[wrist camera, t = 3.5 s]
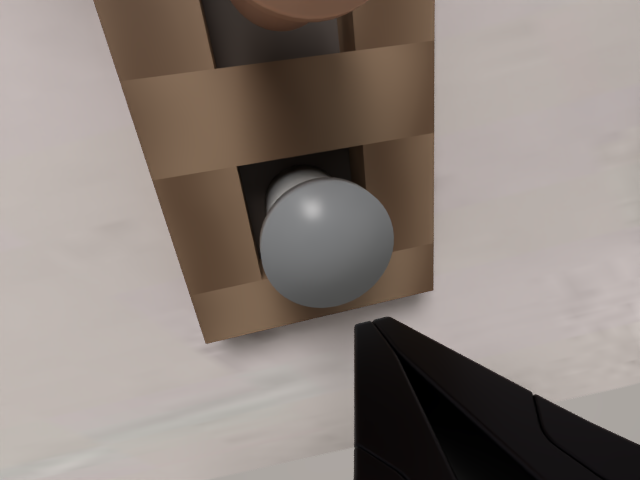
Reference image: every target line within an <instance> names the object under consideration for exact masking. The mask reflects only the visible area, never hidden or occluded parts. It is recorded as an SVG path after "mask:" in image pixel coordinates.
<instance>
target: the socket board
mask: <svg viewBox="0 0 640 480" xmlns="http://www.w3.org/2000/svg"><path fill="white" fill-rule="evenodd" d="M93 1H94V4H95V7H96V10H97V13H98V16H99V19H100V22H101V25H102V28H103V31H104V34H105V37H106V40H107V43H108V46H109V50H110V53H111V56H112V59H113V62H114V65H115V68H116V71H117V74H118V77H119V80H120V83H121V86H122V89H123V92H124V95H125V98H126V101H127V104H128V108H129V111H130V114H131V117H132V120H133V123H134V126H135V129H136V132H137V135H138V138H139V141H140V144H141V147H142V150H143V153H144V156H145V159H146V162H147V166H148V169H149V172H150V175H151V178H152V181H153V184H154V187H155V190H156V193H157V196H158V199H159V202H160V205H161V208H162V211H163V214H164V217H165V220H166V224H167V227H168V230H169V233H170V236H171V239H172V242H173V245H174V248H175V251H176V254H177V257H178V260H179V263H180V266H181V269H182V272H183V275H184V278H185V282H186V285H187V288H188V291H189V294H190V297H191V300H192V303H193V306H194V309H195V312H196V315H197V318H198V321H199V324H200V327H201V330H202V333H203V336H204V340H205V343H206V344H208V343H212V342H216V341H220V340H225V339H229V338H233V337H237V336H242V335H246V334H250V333H254V332H259V331H263V330H267V329H271V328H275V327H280V326H284V325H288V324H292V323H297V322H301V321H305V320H309V319H314V318H318V317H322V316H326V315H330V314H335V313H339V312H343V311H347V310H352V309H356V308H360V307H364V306H369V305H373V304H377V303H381V302H385V301H390V300H394V299H398V298H402V297H407V296H411V295H415V294H419V293H424V292H428V291H432V290H433V246H434V11H435V0H368V1H367V2H365V3H364V4H363V5H361V6H360V7H358V8H357V9H355V10H353V11H351V12H349V13H347V14H346V15H343V16H340V17H337V18H335V19H332V20H327V21H322V22H309V23H308V24H306V25H304V26H302V27H300V28H297V29H295V30H290V31H272V30H268V29H264V28H262V27H259V26H257V25H256V24H254V23H252V22H250V21H249V20H248V19H247V18H245V17H244V16H243V15H242V14H241V13H240V12H239V11H238V10H237V9H236V8H235V6H234V5H233V4H232V3H231V1H230V0H93ZM296 165H311V166H315V167H318V168H320V169H322V170H323V171H325V172H326V173H327V174H328V175H330V176H331V177H335V178H342V179H345V180H349V181H351V182H354V183H356V184H358V185H359V186H361V187H363V188H364V189H365V190H367V191H368V192H369V193H371V194H372V195H373V196H374V197H375V198H377V199H378V200H379V201H380V203H381V204H382V205H383V206H384V208H385V209H386V211H387V213H388V215H389V217H390V220H391V223H392V227H393V233H394V245H393V252H392V255H391V259H390V261H389V264H388V266H387V268H386V270H385V271H384V273H383V275H382V276H381V277H380V279H379V280H378V281H377V282H376V283H375V285H374V286H373V287H372V288H370V289H369V290H368V291H367V292H366V293H364V294H363V295H361V296H360V297H358V298H356V299H354V300H353V301H350V302H348V303H345V304H342V305H339V306H334V307H327V308H314V307H307V306H303V305H300V304H297V303H295V302H292V301H290V300H289V299H287V298H285V297H284V296H283V295H281V294H280V293H279V292H278V291H277V290H276V289H275V288H274V287H273V286H272V284H271V283H270V281H269V280H268V278H267V276H266V274H265V272H264V268H263V265H262V259H261V252H260V233H261V228H262V224H263V221H264V219H265V217H266V212H265V206H264V200H265V194H266V191H267V189H268V186H269V185H270V183H271V181H272V180H273V179H274V178H275V177H276V176H277V175H278V174H279V173H280V172H282V171H283V170H285V169H287V168H290V167H292V166H296Z"/></svg>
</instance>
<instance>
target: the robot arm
mask: <svg viewBox="0 0 640 480" xmlns="http://www.w3.org/2000/svg"><path fill="white" fill-rule="evenodd" d="M354 447H355V449H354V480H640V445H639V444H637V443H634V442H632V441H630V440H628V439H626V438H623V437H621V436H619V435H617V434H615V433H613V432H611V431H608V430H606V429H604V428H602V427H600V426H598V425H596V424H593V423H591V422H589V421H587V420H585V419H583V418H581V417H579V416H577V415H575V414H573V413H571V412H569V411H568V410H566V409H564V408H562V407H560V406H558V405H556V404H554V403H552V402H550V401H548V400H546V399H544V398H543V397H541V396H539V395H537V394H535V395H533V394H532V392H531V391H529V390H527V389H525V388H523V387H521V386H520V385H518V384H516V383H514V382H512V381H510V380H508V379H506V378H504V377H503V376H501V375H499V374H497V373H495V372H493V371H491V370H489V369H487V368H486V367H484V366H482V365H480V364H478V363H476V362H474V361H472V360H471V359H469V358H467V357H465V356H463V355H461V354H459V353H457V352H455V351H454V350H452V349H450V348H448V347H446V346H444V345H442V344H440V343H438V342H437V341H435V340H433V339H431V338H429V337H427V336H425V335H423V334H421V333H420V332H418V331H416V330H414V329H412V328H410V327H408V326H406V325H404V324H403V323H401V322H399V321H397V320H395V319H393V318H391V317H384V318H380V319H376V320H374V321H373V322H371V321H368V322H364V323H359V324H356V325H355V327H354Z"/></svg>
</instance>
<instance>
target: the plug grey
mask: <svg viewBox="0 0 640 480" xmlns="http://www.w3.org/2000/svg"><path fill="white" fill-rule="evenodd" d="M264 206H265V212H266V217H265V219H264V221H263V224H262V228H261V233H260V252H261V259H262V265H263V268H264V272H265V274H266V276H267V278H268V280H269V281H270V283H271V284H272V286H273V287H274V288H275V289H276V290H277V291H278V292H279V293H280V294H281V295H283V296H284V297H285V298H287V299H289V300H290V301H292V302H295V303H297V304H300V305H303V306H307V307H314V308H327V307H334V306H339V305H342V304H345V303H348V302H350V301H353V300H354V299H356V298H358V297H360V296H361V295H363V294H364V293H366V292H367V291H368V290H369V289H370V288H372V287H373V286H374V285H375V283H376V282H377V281H378V280H379V279H380V277H381V276H382V275H383V273H384V271H385V270H386V268H387V266H388V264H389V261H390V259H391V255H392V252H393V245H394V233H393V227H392V223H391V220H390V217H389V215H388V213H387V211H386V209H385V208H384V206H383V205H382V204H381V203H380V201H379V200H378V199H377V198H375V197H374V196H373V195H372V194H371V193H369V192H368V191H367V190H365V189H364V188H363V187H361V186H359V185H358V184H356V183H354V182H351V181H349V180H345V179H342V178H335V177H331V176H330V175H328V174H327V173H326V172H325V171H323V170H322V169H320V168H318V167H315V166H311V165H296V166H292V167H290V168H287V169H285V170H283V171H282V172H280V173H279V174H278V175H277V176H276V177H275V178H274V179H273V180H272V181H271V183H270V185H269V186H268V189H267V191H266V194H265V200H264Z"/></svg>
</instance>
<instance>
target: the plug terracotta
mask: <svg viewBox="0 0 640 480" xmlns="http://www.w3.org/2000/svg"><path fill="white" fill-rule="evenodd" d="M230 1H231V3H232V4H233V5H234V6H235V8H236V9H237V10H238V11H239V12H240V13H241V14H242V15H243V16H244V17H245V18H247V19H248V20H249V21H250V22H252V23H254V24H256V25H257V26H259V27H262V28H264V29H268V30H272V31H290V30H295V29H297V28H300V27H302V26H304V25H306V24H308V23H309V22H322V21H327V20H332V19H335V18H337V17H340V16H343V15H346V14H347V13H349V12H351V11H353V10H355V9H357V8H358V7H360V6H361V5H363V4H364V3H365V2H367V1H368V0H230Z"/></svg>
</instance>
